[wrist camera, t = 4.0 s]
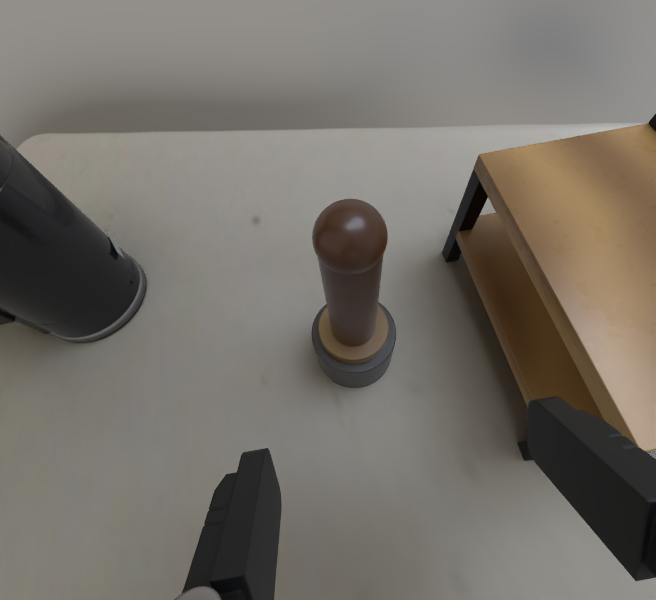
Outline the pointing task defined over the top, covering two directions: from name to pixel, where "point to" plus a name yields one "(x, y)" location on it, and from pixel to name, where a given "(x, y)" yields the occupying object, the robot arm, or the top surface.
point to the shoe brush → (352, 294)
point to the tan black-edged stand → (571, 270)
